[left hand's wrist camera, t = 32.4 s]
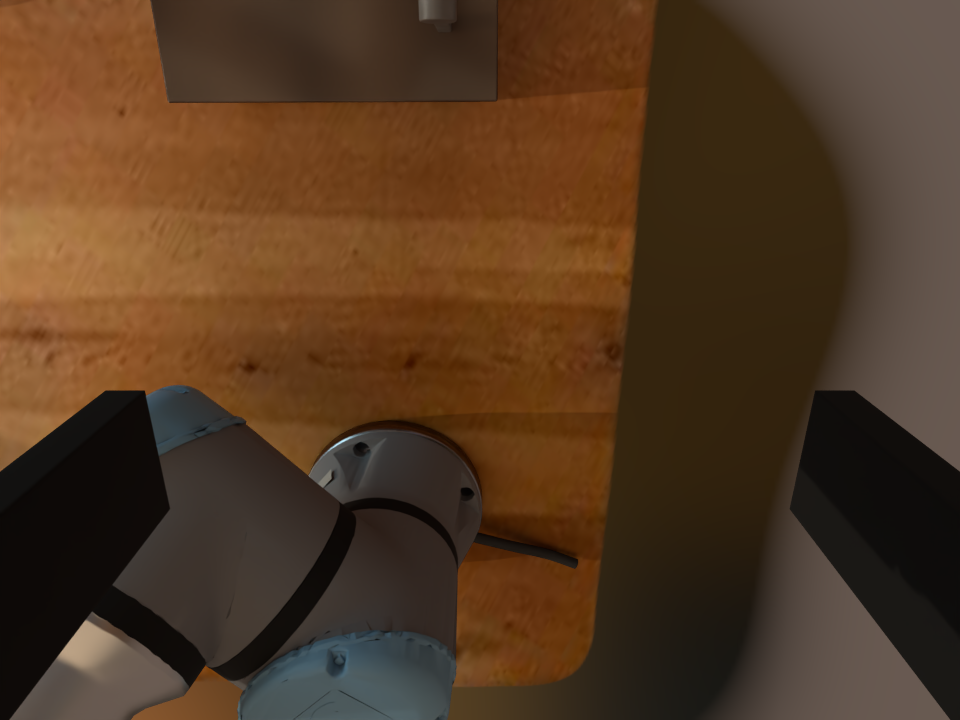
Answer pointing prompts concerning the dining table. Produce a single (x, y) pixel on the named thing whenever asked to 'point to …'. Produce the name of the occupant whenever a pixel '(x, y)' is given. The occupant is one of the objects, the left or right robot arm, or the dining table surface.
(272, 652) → the left robot arm
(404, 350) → the dining table surface
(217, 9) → the lid
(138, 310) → the dining table surface
